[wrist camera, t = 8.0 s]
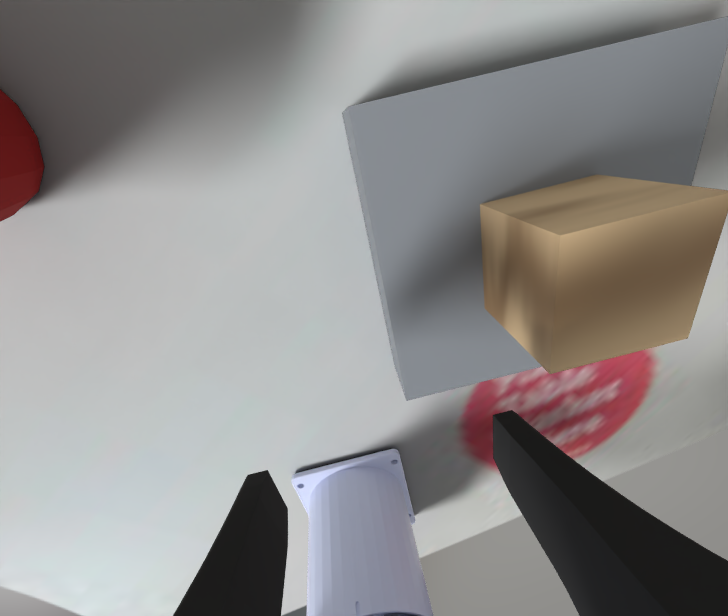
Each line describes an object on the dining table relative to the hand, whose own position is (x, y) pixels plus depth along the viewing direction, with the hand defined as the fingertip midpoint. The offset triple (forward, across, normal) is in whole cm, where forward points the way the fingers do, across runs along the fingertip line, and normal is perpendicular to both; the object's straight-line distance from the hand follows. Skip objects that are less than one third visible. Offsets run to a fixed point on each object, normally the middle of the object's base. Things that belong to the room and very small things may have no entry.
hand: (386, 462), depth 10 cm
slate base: (+9, -9, -3) cm, 13 cm away
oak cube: (+6, -9, -3) cm, 11 cm away
